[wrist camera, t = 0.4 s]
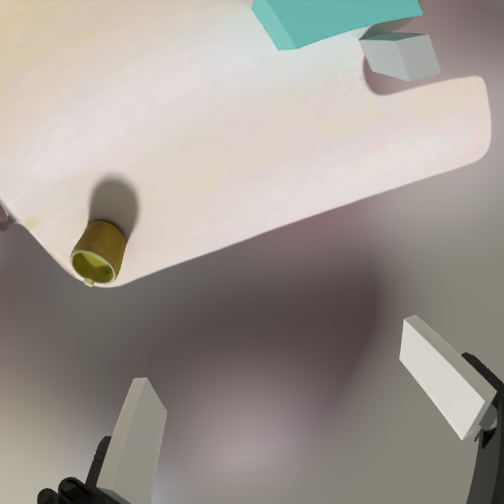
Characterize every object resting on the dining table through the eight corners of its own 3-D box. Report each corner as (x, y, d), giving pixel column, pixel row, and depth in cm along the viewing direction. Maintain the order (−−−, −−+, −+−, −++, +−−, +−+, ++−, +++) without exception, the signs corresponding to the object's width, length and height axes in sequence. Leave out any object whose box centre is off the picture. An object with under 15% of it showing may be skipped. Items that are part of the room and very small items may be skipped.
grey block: (358, 40, 25) (395, 41, 18) (387, 32, 24) (428, 34, 17) (372, 71, 28) (410, 81, 21) (399, 62, 27) (440, 73, 20)
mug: (87, 205, 39) (75, 259, 34) (137, 225, 46) (132, 276, 41) (69, 235, 45) (60, 282, 41) (111, 250, 53) (106, 294, 48)
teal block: (251, 9, 23) (257, -12, 14) (351, -22, 19) (394, -41, 10) (278, 50, 27) (296, 49, 18) (374, 18, 23) (424, 15, 14)
